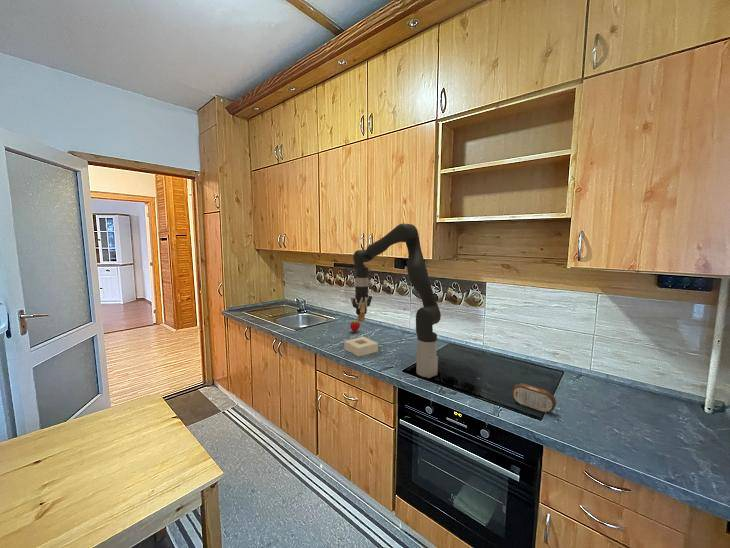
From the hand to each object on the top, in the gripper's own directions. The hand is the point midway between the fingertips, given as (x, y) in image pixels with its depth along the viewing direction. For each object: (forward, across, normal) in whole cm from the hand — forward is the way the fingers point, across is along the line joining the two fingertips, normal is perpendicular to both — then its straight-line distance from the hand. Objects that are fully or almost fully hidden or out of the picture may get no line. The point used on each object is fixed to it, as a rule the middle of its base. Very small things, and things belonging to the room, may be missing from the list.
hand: (361, 314), depth 174 cm
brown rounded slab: (+21, +19, -88) cm, 93 cm away
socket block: (+22, 0, 0) cm, 22 cm away
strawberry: (+22, +16, +29) cm, 40 cm away
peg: (+4, 0, 0) cm, 4 cm away
